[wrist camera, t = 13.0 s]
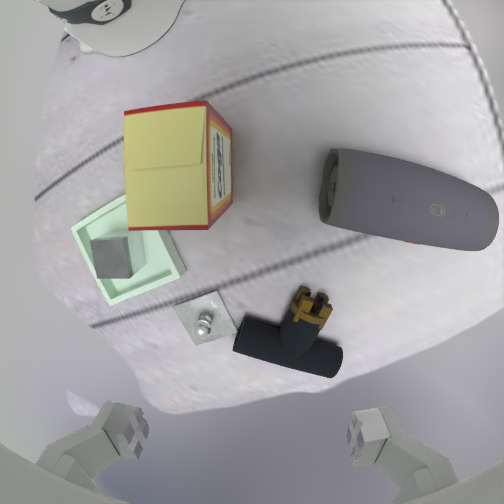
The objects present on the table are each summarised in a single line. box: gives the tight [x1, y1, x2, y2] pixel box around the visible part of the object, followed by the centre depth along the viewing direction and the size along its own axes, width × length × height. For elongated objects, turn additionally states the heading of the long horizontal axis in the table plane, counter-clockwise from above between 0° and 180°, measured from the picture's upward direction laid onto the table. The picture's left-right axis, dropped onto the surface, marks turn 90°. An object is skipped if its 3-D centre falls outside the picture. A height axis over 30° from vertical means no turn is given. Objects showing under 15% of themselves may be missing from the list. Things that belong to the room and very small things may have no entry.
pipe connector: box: [233, 286, 343, 378], centre depth 38 cm, size 12×5×15 cm
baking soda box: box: [124, 101, 232, 231], centre depth 27 cm, size 10×6×16 cm
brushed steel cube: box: [90, 230, 146, 279], centre depth 35 cm, size 5×5×6 cm
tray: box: [71, 194, 187, 306], centre depth 37 cm, size 13×13×3 cm
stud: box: [174, 290, 238, 345], centre depth 38 cm, size 7×7×4 cm
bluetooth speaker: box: [319, 149, 499, 251], centre depth 30 cm, size 23×9×10 cm, turn 83°
